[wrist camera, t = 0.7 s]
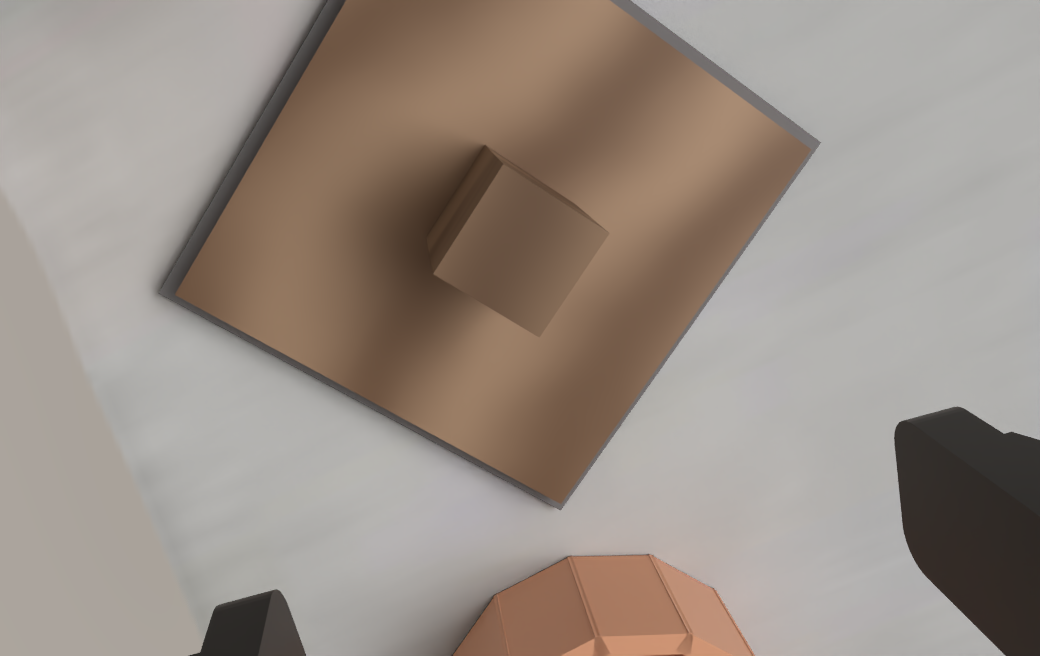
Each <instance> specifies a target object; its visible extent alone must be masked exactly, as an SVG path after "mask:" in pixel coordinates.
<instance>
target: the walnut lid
mask: <svg viewBox="0 0 1040 656" xmlns="http://www.w3.org/2000/svg"><path fill="white" fill-rule="evenodd" d="M810 151H811V149H810V148H809V147H807V146H806V145H805V144H803V143H802V142H801V141H799V140H798V139H797V138H795V137H794V136H793V135H791V134H790V133H788V132H787V131H786V130H784V129H783V128H782V127H780V126H779V125H778V124H776V123H775V122H774V121H772V120H771V119H770V118H768V117H767V116H766V115H764V114H763V113H761V112H760V111H759V110H757V109H756V108H755V107H753V106H752V105H751V104H749V103H748V102H747V101H745V100H744V99H743V98H741V97H740V96H738V95H737V94H736V93H734V92H733V91H732V90H730V89H729V88H728V87H726V86H725V85H724V84H722V83H721V82H720V81H718V80H717V79H715V78H714V77H713V76H711V75H710V74H709V73H707V72H706V71H705V70H703V69H702V68H701V67H699V66H698V65H697V64H695V63H694V62H692V61H691V60H690V59H688V58H687V57H686V56H684V55H683V54H682V53H680V52H679V51H678V50H676V49H675V48H674V47H672V46H671V45H670V44H668V43H667V42H665V41H664V40H663V39H661V38H660V37H659V36H657V35H656V34H655V33H653V32H652V31H651V30H649V29H648V28H647V27H645V26H644V25H642V24H641V23H640V22H638V21H637V20H636V19H634V18H633V17H632V16H630V15H629V14H628V13H626V12H625V11H624V10H622V9H621V8H619V7H618V6H617V5H615V4H614V3H613V2H611V1H610V0H346V1H345V3H344V5H343V6H342V8H341V10H340V12H339V13H338V15H337V17H336V18H335V20H334V22H333V24H332V25H331V27H330V29H329V31H328V32H327V34H326V36H325V37H324V39H323V41H322V43H321V44H320V46H319V48H318V49H317V51H316V53H315V55H314V56H313V58H312V60H311V61H310V63H309V65H308V67H307V68H306V70H305V72H304V73H303V75H302V77H301V79H300V80H299V82H298V84H297V86H296V87H295V89H294V91H293V92H292V94H291V96H290V98H289V99H288V101H287V103H286V104H285V106H284V108H283V110H282V111H281V113H280V115H279V116H278V118H277V120H276V122H275V123H274V125H273V127H272V128H271V130H270V132H269V134H268V135H267V137H266V139H265V140H264V142H263V144H262V146H261V147H260V149H259V151H258V153H257V154H256V156H255V158H254V159H253V161H252V163H251V165H250V166H249V168H248V170H247V171H246V173H245V175H244V177H243V178H242V180H241V182H240V183H239V185H238V187H237V189H236V190H235V192H234V194H233V195H232V197H231V199H230V201H229V202H228V204H227V206H226V208H225V209H224V211H223V213H222V214H221V216H220V218H219V220H218V221H217V223H216V225H215V226H214V228H213V230H212V232H211V233H210V235H209V237H208V238H207V240H206V242H205V244H204V245H203V247H202V249H201V250H200V252H199V254H198V256H197V257H196V259H195V261H194V263H193V264H192V266H191V268H190V269H189V271H188V273H187V275H186V276H185V278H184V280H183V281H182V283H181V285H180V287H179V288H178V290H177V292H176V293H175V295H176V296H178V297H180V298H182V299H183V300H185V301H187V302H189V303H191V304H193V305H195V306H196V307H198V308H200V309H202V310H204V311H206V312H207V313H209V314H211V315H213V316H215V317H217V318H219V319H220V320H222V321H224V322H226V323H228V324H230V325H231V326H233V327H235V328H237V329H239V330H241V331H242V332H244V333H246V334H248V335H250V336H252V337H254V338H255V339H257V340H259V341H261V342H263V343H265V344H266V345H268V346H270V347H272V348H274V349H276V350H278V351H279V352H281V353H283V354H285V355H287V356H289V357H290V358H292V359H294V360H296V361H298V362H300V363H302V364H303V365H305V366H307V367H309V368H311V369H313V370H314V371H316V372H318V373H320V374H322V375H324V376H325V377H327V378H329V379H331V380H333V381H335V382H337V383H338V384H340V385H342V386H344V387H346V388H348V389H349V390H351V391H353V392H355V393H357V394H359V395H361V396H362V397H364V398H366V399H368V400H370V401H372V402H373V403H375V404H377V405H379V406H381V407H383V408H384V409H386V410H388V411H390V412H392V413H394V414H396V415H397V416H399V417H401V418H403V419H405V420H407V421H408V422H410V423H412V424H414V425H416V426H418V427H420V428H421V429H423V430H425V431H427V432H429V433H431V434H432V435H434V436H436V437H438V438H440V439H442V440H444V441H445V442H447V443H449V444H451V445H453V446H455V447H456V448H458V449H460V450H462V451H464V452H466V453H467V454H469V455H471V456H473V457H475V458H477V459H479V460H480V461H482V462H484V463H486V464H488V465H490V466H491V467H493V468H495V469H497V470H499V471H501V472H503V473H504V474H506V475H508V476H510V477H512V478H514V479H515V480H517V481H519V482H521V483H523V484H525V485H526V486H528V487H530V488H532V489H534V490H536V491H538V492H539V493H541V494H543V495H545V496H547V497H549V498H550V499H552V500H554V501H556V502H558V503H560V504H561V503H562V502H563V501H564V499H565V498H566V496H567V495H568V493H569V492H570V491H571V489H572V488H573V486H574V485H575V484H576V482H577V481H578V479H579V478H580V476H581V475H582V474H583V472H584V471H585V469H586V468H587V467H588V465H589V464H590V462H591V461H592V460H593V458H594V457H595V455H596V454H597V452H598V451H599V450H600V448H601V447H602V445H603V444H604V443H605V441H606V440H607V438H608V437H609V435H610V434H611V433H612V431H613V430H614V428H615V427H616V426H617V424H618V423H619V421H620V420H621V418H622V417H623V416H624V414H625V413H626V411H627V410H628V409H629V407H630V406H631V404H632V403H633V401H634V400H635V399H636V397H637V396H638V394H639V393H640V392H641V390H642V389H643V387H644V386H645V385H646V383H647V382H648V380H649V379H650V377H651V376H652V375H653V373H654V372H655V370H656V369H657V368H658V366H659V365H660V363H661V362H662V360H663V359H664V358H665V356H666V355H667V353H668V352H669V351H670V349H671V348H672V346H673V345H674V343H675V342H676V341H677V339H678V338H679V336H680V335H681V334H682V332H683V331H684V329H685V328H686V326H687V325H688V324H689V322H690V321H691V319H692V318H693V317H694V315H695V314H696V312H697V311H698V310H699V308H700V307H701V305H702V304H703V302H704V301H705V300H706V298H707V297H708V295H709V294H710V293H711V291H712V290H713V288H714V287H715V285H716V284H717V283H718V281H719V280H720V278H721V277H722V276H723V274H724V273H725V271H726V270H727V268H728V267H729V266H730V264H731V263H732V261H733V260H734V259H735V257H736V256H737V254H738V253H739V251H740V250H741V249H742V247H743V246H744V244H745V243H746V242H747V240H748V239H749V237H750V236H751V235H752V233H753V232H754V230H755V229H756V227H757V226H758V225H759V223H760V222H761V220H762V219H763V218H764V216H765V215H766V213H767V212H768V210H769V209H770V208H771V206H772V205H773V203H774V202H775V201H776V199H777V198H778V196H779V195H780V193H781V192H782V191H783V189H784V188H785V186H786V185H787V184H788V182H789V181H790V179H791V178H792V176H793V175H794V174H795V172H796V171H797V169H798V168H799V167H800V165H801V164H802V162H803V161H804V160H805V158H806V157H807V155H808V154H809V152H810Z"/></svg>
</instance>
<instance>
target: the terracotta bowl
mask: <svg viewBox="0 0 1040 656" xmlns="http://www.w3.org/2000/svg"><path fill="white" fill-rule="evenodd" d="M493 597H494V598H493V599H492V600H491V602H490V603H489V605H488V606H487V608H486V609H485V610H484V612H483V613H482V615H481V616H480V617H479V619H478V620H477V622H476V623H475V625H474V626H473V627H472V629H471V630H470V632H469V633H468V634H467V636H466V637H465V639H464V640H463V642H462V643H461V644H460V646H459V647H458V649H457V650H456V651H455V653H454V654H453V656H755V655H754V653H753V651H752V650H751V648H750V646H749V645H748V643H747V641H746V640H745V638H744V636H743V635H742V633H741V631H740V630H739V628H738V626H737V625H736V623H735V621H734V620H733V618H732V616H731V615H730V613H729V611H728V610H727V608H726V606H725V605H724V603H723V601H722V600H721V598H720V596H719V595H718V593H717V591H716V590H714V588H711V587H709V586H707V585H705V584H703V583H701V582H699V581H698V580H696V579H694V578H692V577H690V576H688V575H687V574H685V573H683V572H681V571H679V570H677V569H675V568H674V567H672V566H670V565H668V564H666V563H664V562H663V561H661V560H659V559H657V558H655V557H654V556H653V555H650V554H649V555H630V556H577V557H572V556H570V557H567V558H566V559H564V560H562V561H560V562H558V563H556V564H554V565H552V566H551V567H549V568H547V569H545V570H543V571H541V572H539V573H537V574H535V575H533V576H531V577H529V578H527V579H525V580H523V581H521V582H520V583H518V584H516V585H514V586H512V587H510V588H508V589H506V590H504V591H502V592H500V593H498V594H497V593H496V595H494V596H493Z"/></svg>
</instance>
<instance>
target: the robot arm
mask: <svg viewBox="0 0 1040 656" xmlns="http://www.w3.org/2000/svg"><path fill="white" fill-rule="evenodd" d="M894 439H895V452H896V462H897V472H898V482H899V492H900V502H901V512H902V522H903V530H904V534H905V538H906V541H907V544H908V547H909V550H910V552H911V554H912V556H913V558H914V560H915V562H916V564H917V565H918V567H919V568H920V570H921V571H922V572H923V574H924V575H925V576H926V577H927V578H928V579H929V580H930V581H931V582H932V583H933V584H934V585H935V586H936V587H937V588H938V589H939V590H940V591H941V592H942V593H943V594H944V595H945V596H946V597H947V598H948V599H949V600H950V601H951V602H952V603H953V604H954V605H955V606H956V607H957V608H958V609H959V610H960V611H961V612H962V613H963V614H964V615H965V616H966V617H967V618H968V619H969V620H970V621H971V622H972V623H973V624H974V625H975V626H976V627H977V628H978V629H979V630H980V631H981V632H982V633H983V634H984V635H985V636H986V637H987V638H988V639H989V640H990V641H991V642H993V643H994V644H995V645H996V646H997V647H998V648H999V649H1000V650H1001V651H1002V652H1003V653H1004V654H1005V655H1006V656H1040V440H1037V439H1034V438H1031V437H1027V436H1024V435H1020V434H1017V433H1014V432H1010V433H1006V434H1003V433H1002V432H1000V431H999V430H997V429H995V428H994V427H992V426H991V425H989V424H988V423H986V422H984V421H983V420H981V419H980V418H978V417H977V416H975V415H973V414H972V413H970V412H969V411H967V410H965V409H963V408H961V407H952V408H949V409H945V410H941V411H938V412H934V413H930V414H926V415H923V416H919V417H915V418H912V419H908V420H904V421H901V422H899V424H898V425H897V427H896V430H895V437H894ZM190 656H306V654H305V651H304V648H303V645H302V643H301V640H300V637H299V634H298V632H297V629H296V626H295V623H294V621H293V618H292V615H291V612H290V610H289V607H288V604H287V602H286V600H285V598H284V596H283V595H282V593H281V592H280V591H279V590H272V591H268V592H264V593H261V594H257V595H253V596H250V597H246V598H242V599H239V600H235V601H231V602H228V603H224V604H220V605H218V606H216V607H215V609H214V611H213V614H212V617H211V620H210V623H209V627H208V630H207V633H206V636H205V639H204V643H203V646H202V649H201V652H200V653H197V654H193V655H190Z"/></svg>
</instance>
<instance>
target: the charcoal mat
mask: <svg viewBox="0 0 1040 656" xmlns="http://www.w3.org/2000/svg"><path fill="white" fill-rule="evenodd" d="M345 1H346V0H328V1H327V3H326V4H325V6H324V8H323V10H322V11H321V13H320V15H319V17H318V18H317V20H316V22H315V23H314V25H313V27H312V29H311V30H310V32H309V34H308V36H307V37H306V39H305V41H304V43H303V44H302V46H301V48H300V49H299V51H298V53H297V55H296V56H295V58H294V60H293V62H292V63H291V65H290V67H289V68H288V70H287V72H286V74H285V75H284V77H283V79H282V81H281V82H280V84H279V86H278V88H277V89H276V91H275V93H274V94H273V96H272V98H271V100H270V101H269V103H268V105H267V107H266V108H265V110H264V112H263V113H262V115H261V117H260V119H259V120H258V122H257V124H256V126H255V127H254V129H253V131H252V132H251V134H250V136H249V138H248V139H247V141H246V143H245V145H244V146H243V148H242V150H241V152H240V153H239V155H238V157H237V158H236V160H235V162H234V164H233V165H232V167H231V169H230V171H229V172H228V174H227V176H226V177H225V179H224V181H223V183H222V184H221V186H220V188H219V190H218V191H217V193H216V195H215V197H214V198H213V200H212V202H211V203H210V205H209V207H208V209H207V210H206V212H205V214H204V216H203V217H202V219H201V221H200V222H199V224H198V226H197V228H196V229H195V231H194V233H193V235H192V236H191V238H190V240H189V242H188V243H187V245H186V247H185V248H184V250H183V252H182V254H181V255H180V257H179V259H178V261H177V262H176V264H175V266H174V267H173V269H172V271H171V273H170V274H169V276H168V278H167V280H166V281H165V283H164V285H163V287H162V288H161V290H160V292H159V294H161V295H163V296H164V297H166V298H168V299H170V300H172V301H174V302H175V303H177V304H179V305H181V306H183V307H185V308H187V309H188V310H190V311H192V312H194V313H196V314H198V315H200V316H201V317H203V318H205V319H207V320H209V321H211V322H213V323H214V324H216V325H218V326H220V327H222V328H224V329H225V330H227V331H229V332H231V333H233V334H235V335H237V336H238V337H240V338H242V339H244V340H246V341H248V342H250V343H251V344H253V345H255V346H257V347H259V348H261V349H263V350H264V351H266V352H268V353H270V354H272V355H274V356H276V357H277V358H279V359H281V360H283V361H285V362H287V363H288V364H290V365H292V366H294V367H296V368H298V369H300V370H301V371H303V372H305V373H307V374H309V375H311V376H313V377H314V378H316V379H318V380H320V381H322V382H324V383H326V384H327V385H329V386H331V387H333V388H335V389H337V390H338V391H340V392H342V393H344V394H346V395H348V396H350V397H351V398H353V399H355V400H357V401H359V402H361V403H363V404H364V405H366V406H368V407H370V408H372V409H374V410H376V411H377V412H379V413H381V414H383V415H385V416H387V417H388V418H390V419H392V420H394V421H396V422H398V423H400V424H401V425H403V426H405V427H407V428H409V429H411V430H413V431H414V432H416V433H418V434H420V435H422V436H424V437H426V438H427V439H429V440H431V441H433V442H435V443H437V444H438V445H440V446H442V447H444V448H446V449H448V450H450V451H451V452H453V453H455V454H457V455H459V456H461V457H463V458H464V459H466V460H468V461H470V462H472V463H474V464H476V465H477V466H479V467H481V468H483V469H485V470H487V471H488V472H490V473H492V474H494V475H496V476H498V477H500V478H501V479H503V480H505V481H507V482H509V483H511V484H513V485H514V486H516V487H518V488H520V489H522V490H524V491H526V492H527V493H529V494H531V495H533V496H535V497H537V498H539V499H540V500H542V501H544V502H546V503H548V504H550V505H551V506H553V507H555V508H557V509H559V510H561V509H562V508H563V506H564V505H565V504H566V502H567V501H568V499H569V498H570V496H571V495H572V494H573V492H574V491H575V489H576V488H577V487H578V485H579V484H580V482H581V481H582V479H583V478H584V477H585V475H586V474H587V472H588V471H589V470H590V468H591V467H592V465H593V464H594V463H595V461H596V460H597V458H598V457H599V455H600V454H601V453H602V451H603V450H604V448H605V447H606V446H607V444H608V443H609V441H610V440H611V439H612V437H613V436H614V434H615V433H616V431H617V430H618V429H619V427H620V426H621V424H622V423H623V422H624V420H625V419H626V417H627V416H628V414H629V413H630V412H631V410H632V409H633V407H634V406H635V405H636V403H637V402H638V400H639V399H640V398H641V396H642V395H643V393H644V392H645V390H646V389H647V388H648V386H649V385H650V383H651V382H652V381H653V379H654V378H655V376H656V375H657V374H658V372H659V371H660V369H661V368H662V366H663V365H664V364H665V362H666V361H667V359H668V358H669V357H670V355H671V354H672V352H673V351H674V349H675V348H676V347H677V345H678V344H679V342H680V341H681V340H682V338H683V337H684V335H685V334H686V333H687V331H688V330H689V328H690V327H691V325H692V324H693V323H694V321H695V320H696V318H697V317H698V316H699V314H700V313H701V311H702V310H703V309H704V307H705V306H706V304H707V303H708V301H709V300H710V299H711V297H712V296H713V294H714V293H715V292H716V290H717V289H718V287H719V286H720V284H721V283H722V282H723V280H724V279H725V277H726V276H727V275H728V273H729V272H730V270H731V269H732V268H733V266H734V265H735V263H736V262H737V260H738V259H739V258H740V256H741V255H742V253H743V252H744V251H745V249H746V248H747V246H748V245H749V244H750V242H751V241H752V239H753V238H754V236H755V235H756V234H757V232H758V231H759V229H760V228H761V227H762V225H763V224H764V222H765V221H766V219H767V218H768V217H769V215H770V214H771V212H772V211H773V210H774V208H775V207H776V205H777V204H778V203H779V201H780V200H781V198H782V197H783V195H784V194H785V193H786V191H787V190H788V188H789V187H790V186H791V184H792V183H793V181H794V180H795V179H796V177H797V176H798V174H799V173H800V171H801V170H802V169H803V167H804V166H805V164H806V163H807V162H808V160H809V159H810V157H811V156H812V154H813V153H814V152H815V150H816V149H817V147H818V146H819V145H820V143H821V142H820V141H818V140H817V139H815V138H814V137H813V136H811V135H810V134H809V133H807V132H806V131H805V130H803V129H802V128H801V127H799V126H798V125H797V124H795V123H794V122H793V121H791V120H790V119H789V118H787V117H786V116H785V115H783V114H782V113H781V112H779V111H778V110H777V109H775V108H774V107H773V106H771V105H770V104H769V103H767V102H766V101H765V100H763V99H762V98H760V97H759V96H758V95H756V94H755V93H754V92H752V91H751V90H750V89H748V88H747V87H746V86H744V85H743V84H742V83H740V82H739V81H738V80H736V79H735V78H734V77H732V76H731V75H730V74H728V73H727V72H726V71H724V70H723V69H722V68H720V67H719V66H718V65H716V64H715V63H714V62H712V61H711V60H709V59H708V58H707V57H705V56H704V55H703V54H701V53H700V52H699V51H697V50H696V49H695V48H693V47H692V46H691V45H689V44H688V43H687V42H685V41H684V40H683V39H681V38H680V37H679V36H677V35H676V34H675V33H673V32H672V31H671V30H669V29H668V28H667V27H665V26H664V25H663V24H661V23H660V22H659V21H657V20H656V19H654V18H653V17H652V16H650V15H649V14H648V13H646V12H645V11H644V10H642V9H641V8H640V7H638V6H637V5H636V4H634V3H633V2H632V1H630V0H610V1H611V2H613V3H614V4H615V5H617V6H618V7H619V8H621V9H622V10H624V11H625V12H626V13H628V14H629V15H630V16H632V17H633V18H634V19H636V20H637V21H638V22H640V23H641V24H642V25H644V26H645V27H647V28H648V29H649V30H651V31H652V32H653V33H655V34H656V35H657V36H659V37H660V38H661V39H663V40H664V41H665V42H667V43H668V44H670V45H671V46H672V47H674V48H675V49H676V50H678V51H679V52H680V53H682V54H683V55H684V56H686V57H687V58H688V59H690V60H691V61H692V62H694V63H695V64H697V65H698V66H699V67H701V68H702V69H703V70H705V71H706V72H707V73H709V74H710V75H711V76H713V77H714V78H715V79H717V80H718V81H720V82H721V83H722V84H724V85H725V86H726V87H728V88H729V89H730V90H732V91H733V92H734V93H736V94H737V95H738V96H740V97H741V98H743V99H744V100H745V101H747V102H748V103H749V104H751V105H752V106H753V107H755V108H756V109H757V110H759V111H760V112H761V113H763V114H764V115H766V116H767V117H768V118H770V119H771V120H772V121H774V122H775V123H776V124H778V125H779V126H780V127H782V128H783V129H784V130H786V131H787V132H788V133H790V134H791V135H793V136H794V137H795V138H797V139H798V140H799V141H801V142H802V143H803V144H805V145H806V146H807V147H809V148H810V149H811V151H810V152H809V154H808V155H807V157H806V158H805V160H804V161H803V162H802V164H801V165H800V167H799V168H798V169H797V171H796V172H795V174H794V175H793V176H792V178H791V179H790V181H789V182H788V184H787V185H786V186H785V188H784V189H783V191H782V192H781V193H780V195H779V196H778V198H777V199H776V201H775V202H774V203H773V205H772V206H771V208H770V209H769V210H768V212H767V213H766V215H765V216H764V218H763V219H762V220H761V222H760V223H759V225H758V226H757V227H756V229H755V230H754V232H753V233H752V235H751V236H750V237H749V239H748V240H747V242H746V243H745V244H744V246H743V247H742V249H741V250H740V251H739V253H738V254H737V256H736V257H735V259H734V260H733V261H732V263H731V264H730V266H729V267H728V268H727V270H726V271H725V273H724V274H723V276H722V277H721V278H720V280H719V281H718V283H717V284H716V285H715V287H714V288H713V290H712V291H711V293H710V294H709V295H708V297H707V298H706V300H705V301H704V302H703V304H702V305H701V307H700V308H699V310H698V311H697V312H696V314H695V315H694V317H693V318H692V319H691V321H690V322H689V324H688V325H687V326H686V328H685V329H684V331H683V332H682V334H681V335H680V336H679V338H678V339H677V341H676V342H675V343H674V345H673V346H672V348H671V349H670V351H669V352H668V353H667V355H666V356H665V358H664V359H663V360H662V362H661V363H660V365H659V366H658V368H657V369H656V370H655V372H654V373H653V375H652V376H651V377H650V379H649V380H648V382H647V383H646V385H645V386H644V387H643V389H642V390H641V392H640V393H639V394H638V396H637V397H636V399H635V400H634V401H633V403H632V404H631V406H630V407H629V409H628V410H627V411H626V413H625V414H624V416H623V417H622V418H621V420H620V421H619V423H618V424H617V426H616V427H615V428H614V430H613V431H612V433H611V434H610V435H609V437H608V438H607V440H606V441H605V443H604V444H603V445H602V447H601V448H600V450H599V451H598V452H597V454H596V455H595V457H594V458H593V460H592V461H591V462H590V464H589V465H588V467H587V468H586V469H585V471H584V472H583V474H582V475H581V476H580V478H579V479H578V481H577V482H576V484H575V485H574V486H573V488H572V489H571V491H570V492H569V493H568V495H567V496H566V498H565V499H564V501H563V502H562V503H561V504H560V503H558V502H556V501H554V500H552V499H550V498H549V497H547V496H545V495H543V494H541V493H539V492H538V491H536V490H534V489H532V488H530V487H528V486H526V485H525V484H523V483H521V482H519V481H517V480H515V479H514V478H512V477H510V476H508V475H506V474H504V473H503V472H501V471H499V470H497V469H495V468H493V467H491V466H490V465H488V464H486V463H484V462H482V461H480V460H479V459H477V458H475V457H473V456H471V455H469V454H467V453H466V452H464V451H462V450H460V449H458V448H456V447H455V446H453V445H451V444H449V443H447V442H445V441H444V440H442V439H440V438H438V437H436V436H434V435H432V434H431V433H429V432H427V431H425V430H423V429H421V428H420V427H418V426H416V425H414V424H412V423H410V422H408V421H407V420H405V419H403V418H401V417H399V416H397V415H396V414H394V413H392V412H390V411H388V410H386V409H384V408H383V407H381V406H379V405H377V404H375V403H373V402H372V401H370V400H368V399H366V398H364V397H362V396H361V395H359V394H357V393H355V392H353V391H351V390H349V389H348V388H346V387H344V386H342V385H340V384H338V383H337V382H335V381H333V380H331V379H329V378H327V377H325V376H324V375H322V374H320V373H318V372H316V371H314V370H313V369H311V368H309V367H307V366H305V365H303V364H302V363H300V362H298V361H296V360H294V359H292V358H290V357H289V356H287V355H285V354H283V353H281V352H279V351H278V350H276V349H274V348H272V347H270V346H268V345H266V344H265V343H263V342H261V341H259V340H257V339H255V338H254V337H252V336H250V335H248V334H246V333H244V332H242V331H241V330H239V329H237V328H235V327H233V326H231V325H230V324H228V323H226V322H224V321H222V320H220V319H219V318H217V317H215V316H213V315H211V314H209V313H207V312H206V311H204V310H202V309H200V308H198V307H196V306H195V305H193V304H191V303H189V302H187V301H185V300H183V299H182V298H180V297H178V296H176V295H175V293H176V292H177V290H178V288H179V287H180V285H181V283H182V281H183V280H184V278H185V276H186V275H187V273H188V271H189V269H190V268H191V266H192V264H193V263H194V261H195V259H196V257H197V256H198V254H199V252H200V250H201V249H202V247H203V245H204V244H205V242H206V240H207V238H208V237H209V235H210V233H211V232H212V230H213V228H214V226H215V225H216V223H217V221H218V220H219V218H220V216H221V214H222V213H223V211H224V209H225V208H226V206H227V204H228V202H229V201H230V199H231V197H232V195H233V194H234V192H235V190H236V189H237V187H238V185H239V183H240V182H241V180H242V178H243V177H244V175H245V173H246V171H247V170H248V168H249V166H250V165H251V163H252V161H253V159H254V158H255V156H256V154H257V153H258V151H259V149H260V147H261V146H262V144H263V142H264V140H265V139H266V137H267V135H268V134H269V132H270V130H271V128H272V127H273V125H274V123H275V122H276V120H277V118H278V116H279V115H280V113H281V111H282V110H283V108H284V106H285V104H286V103H287V101H288V99H289V98H290V96H291V94H292V92H293V91H294V89H295V87H296V86H297V84H298V82H299V80H300V79H301V77H302V75H303V73H304V72H305V70H306V68H307V67H308V65H309V63H310V61H311V60H312V58H313V56H314V55H315V53H316V51H317V49H318V48H319V46H320V44H321V43H322V41H323V39H324V37H325V36H326V34H327V32H328V31H329V29H330V27H331V25H332V24H333V22H334V20H335V18H336V17H337V15H338V13H339V12H340V10H341V8H342V6H343V5H344V3H345Z"/></svg>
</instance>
